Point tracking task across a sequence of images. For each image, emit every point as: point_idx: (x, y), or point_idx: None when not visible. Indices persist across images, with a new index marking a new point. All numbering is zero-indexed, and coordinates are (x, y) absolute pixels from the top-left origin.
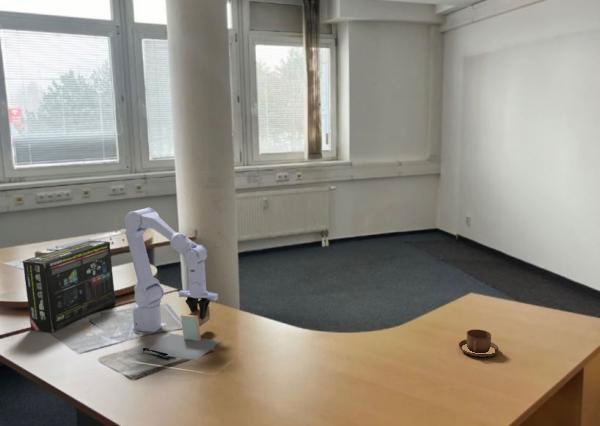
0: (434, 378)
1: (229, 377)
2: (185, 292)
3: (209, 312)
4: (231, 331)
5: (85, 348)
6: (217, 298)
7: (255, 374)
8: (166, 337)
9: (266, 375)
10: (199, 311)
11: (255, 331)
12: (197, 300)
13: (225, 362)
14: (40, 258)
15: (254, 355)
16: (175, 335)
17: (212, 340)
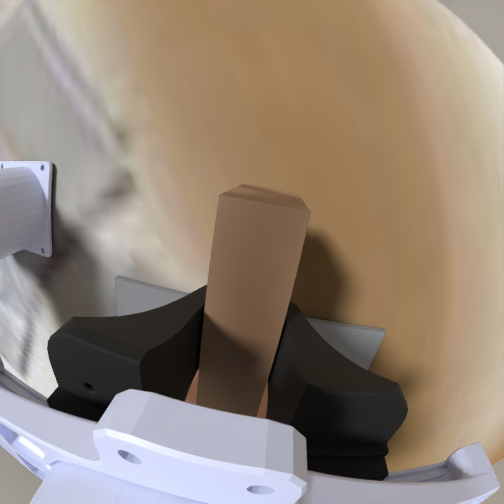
0: None
1: (401, 466)
2: (24, 462)
3: (303, 202)
4: (413, 193)
5: (11, 355)
6: (476, 457)
7: (450, 444)
8: (119, 314)
9: (466, 439)
10: (254, 377)
11: (499, 192)
12: (166, 360)
13: (398, 434)
14: None
15: (473, 385)
16: (141, 293)
17: (346, 334)
